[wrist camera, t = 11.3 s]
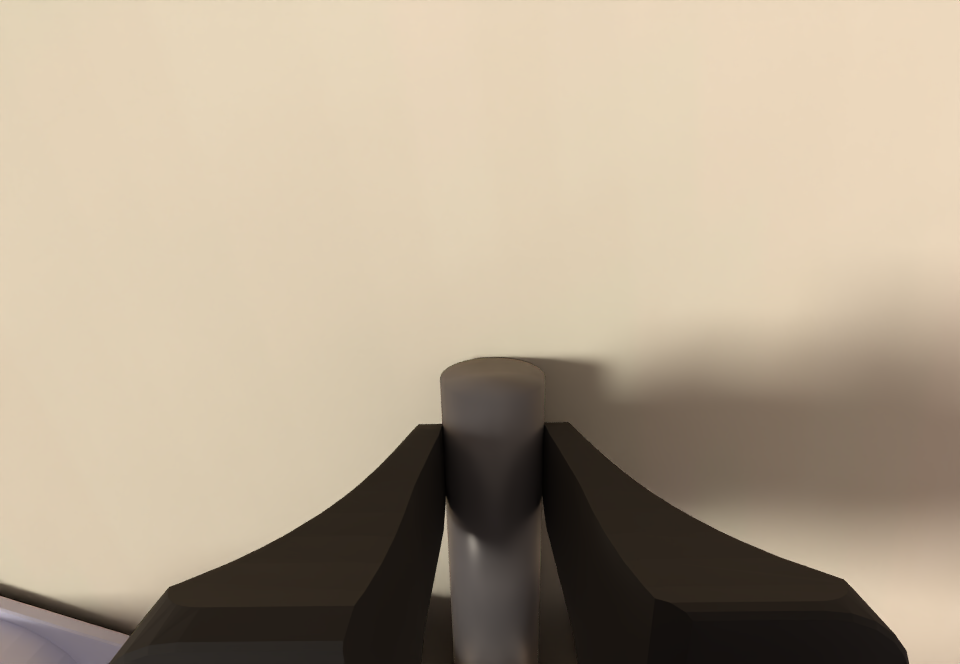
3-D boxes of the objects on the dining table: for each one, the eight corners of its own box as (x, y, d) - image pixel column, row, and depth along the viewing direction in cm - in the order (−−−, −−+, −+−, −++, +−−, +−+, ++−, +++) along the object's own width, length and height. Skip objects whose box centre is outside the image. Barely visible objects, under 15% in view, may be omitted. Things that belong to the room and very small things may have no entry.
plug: (553, 771, 17) (571, 927, 14) (440, 772, 17) (429, 927, 14) (571, 356, 12) (607, 428, 9) (412, 358, 12) (382, 431, 9)
